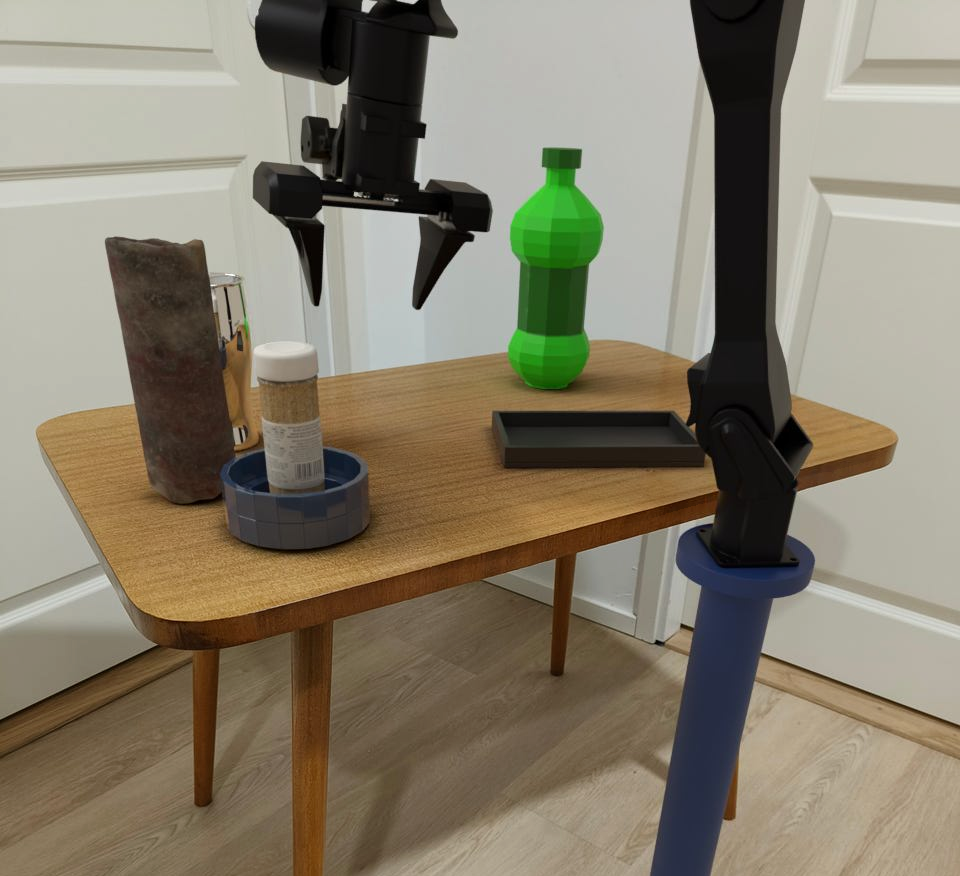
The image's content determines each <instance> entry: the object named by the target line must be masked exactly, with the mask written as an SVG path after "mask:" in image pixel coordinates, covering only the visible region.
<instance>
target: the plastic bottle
mask: <svg viewBox="0 0 960 876" xmlns="http://www.w3.org/2000/svg"><path fill="white" fill-rule="evenodd" d="M541 152H542V153H541V168H544V169H545V168H546V169H545V170H546V171H545V184H544V185H542V186H541V187H540V188H539V189H538V190H537V191H536V192H535V193H533V194H532V195H531V196H530V197H529V198H528V199H527V200H526V201H525V202H524V203H523V204H522V205H521V206H520V207H519V208H518V209H517V210H516V212H514V214H513V218H512V220H511V223H510V227H509V241H510V250H511V252H512V254H514V256H515V257H516V259H517V260H518V261H519V281H518V285H519V286H518V300H517V301H518V304H517V321H516V322H517V325H516V329H515V330H514V333H513V334H512V336H511V339H510V341H509V343H508V345H507V346H508V347H507V358H508V361H509V364H510V366H511V368H512V369H513V371H514V373H516V375H518V376H519V377H520V379H522V380H523V381H525V384H526V385H527V386H529V387H530V388H536V389H540V390H559V389H564V388H567V387H568V385H569V384H571V383H572V382H573V381H574V380H576V379H577V378H578V377H579V376H580V375H581V374H582V373H583V371H584V368H585V366H586V364H587V362H588V360H589V358H590V351H591V344H590V341H589V338H588V334H587V332H586V329H585V320H586V319H585V317H586V305H587V297H588V295H587V294H588V284H589V271H590V270H589V269H590V264H591V262H592V261H594V260H595V259H596V257H597V256H598V255H599V253H600V250H601V247H602V243H603V239H604V231H605V229H604V228H605V227H604V223H603V219H602V214H601V213H600V212H599V210H598V209H597V208H596V207H595V205H594V204H593V203H592V202H591V200H590V199H589V198H588V197H587V196H586V195H585V194H584V192H582V190H581V189H580V188H579V187H578V186H577V185H576V174H577V173H576V171H577V170H579V169H582V157H583V148H575V147H555V146H554V147H542V151H541Z"/></svg>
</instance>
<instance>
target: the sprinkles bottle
mask: <svg viewBox="0 0 960 876" xmlns="http://www.w3.org/2000/svg"><path fill="white" fill-rule="evenodd" d="M253 367H254V374H255V376H256V381H257V382H258V388H259V389H258V392H259V400H260V410H261V415H260V416H261V427H262V436H263V437H262V438H263V445H264V446H263V447H264V448H265V457H266V467H267V476H268V481H269V488H270V493H273V494H304V493H312V492H319V491H325V485H324V479H325V477H324V461H323V446H324V445H323V433H322V419H321V414H320V404H319V389H318V378H319V375H318V374H319V373H320V369H319V358H318V350H317V348H316V347H315V346H314V345H313V344H310V343H307V342H302V341H293V340H289V341H287V340H286V341H285V340H284V341H283V340H282V341H271V342H267V343H261V344H259V345H257V346H256V347H255V348H253Z"/></svg>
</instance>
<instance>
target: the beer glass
mask: <svg viewBox="0 0 960 876" xmlns="http://www.w3.org/2000/svg"><path fill="white" fill-rule="evenodd" d="M208 274H209V279H210V285H211V292H212V300H213V309H214V316H215V321H216V328H217V335H218V343H219V350H220V357H221V364H222V371H223V378H224V384H225V391H226V398H227V404H228V410H229V417H230V423H231V430H232V436H233V443H234V449H235V452H238V451H242V450H243V451H244V450H247V449H250V448H252V447H254V446H256V445H257V444H258V442H259V439H260V437H259V432H258V429H257V426H256V422H255V419H254V415H253V411H252V401H251V399H252V398H251V394H252V393H251V390H252V389H251V388H252V376H253V375H252V374H253V362H254V356H253V351H254V334H253V333H254V331H253V322H252V313H251V308H250V302H249V297H248V291H247V286H246V279H245V277H244V276H243V275H240V274H237V273H230V272H229V273H228V272H214V271H213V272H209V271H208Z"/></svg>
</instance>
